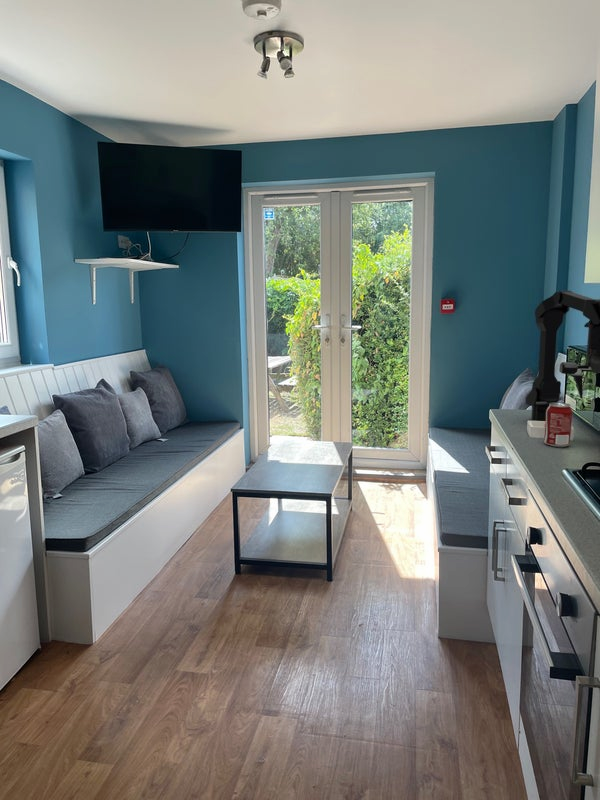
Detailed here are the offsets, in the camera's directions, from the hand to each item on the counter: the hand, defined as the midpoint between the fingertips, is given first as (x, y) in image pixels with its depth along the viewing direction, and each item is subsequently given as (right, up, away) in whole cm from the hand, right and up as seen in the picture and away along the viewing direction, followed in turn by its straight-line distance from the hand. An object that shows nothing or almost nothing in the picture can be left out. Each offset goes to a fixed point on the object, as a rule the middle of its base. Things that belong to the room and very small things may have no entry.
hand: (593, 398), depth 166 cm
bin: (-8, -11, +10) cm, 18 cm away
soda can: (-11, -14, -1) cm, 18 cm away
